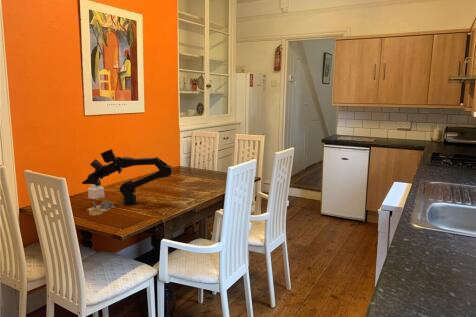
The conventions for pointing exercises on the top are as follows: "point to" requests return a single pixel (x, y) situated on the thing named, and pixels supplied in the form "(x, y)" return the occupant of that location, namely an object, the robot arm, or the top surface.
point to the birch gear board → (98, 207)
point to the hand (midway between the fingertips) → (84, 180)
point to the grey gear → (106, 205)
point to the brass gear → (95, 212)
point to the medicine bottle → (96, 191)
